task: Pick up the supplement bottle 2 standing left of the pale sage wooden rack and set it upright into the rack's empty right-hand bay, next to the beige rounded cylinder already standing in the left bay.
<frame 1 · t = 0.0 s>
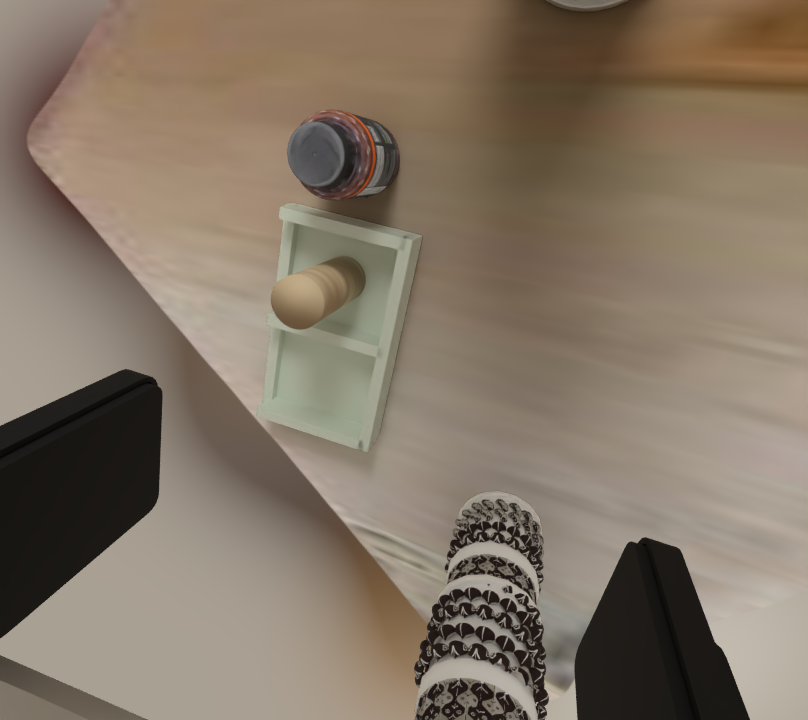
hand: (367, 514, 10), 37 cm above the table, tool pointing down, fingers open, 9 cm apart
decorative candle: (499, 526, 52), on the table
beige rounded cylinder: (344, 278, 47), point 1 cm above the table, touching rack
rack: (339, 325, 49), on the table
supplement bottle 2: (368, 159, 44), on the table
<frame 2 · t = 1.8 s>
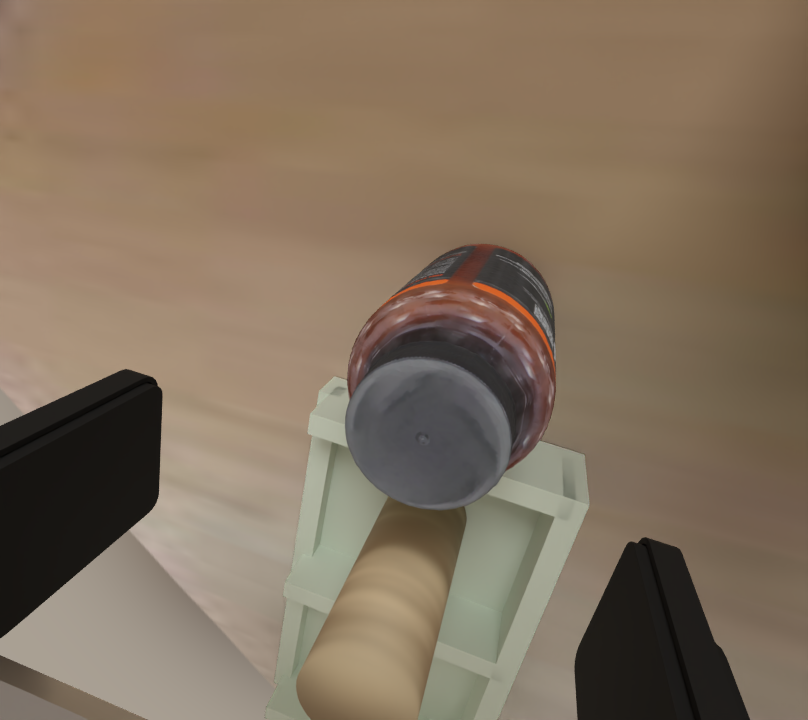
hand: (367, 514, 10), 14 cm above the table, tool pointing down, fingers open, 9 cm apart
beige rounded cylinder: (425, 513, 25), point 1 cm above the table, touching rack
rack: (410, 573, 28), on the table
supplement bottle 2: (482, 311, 22), on the table
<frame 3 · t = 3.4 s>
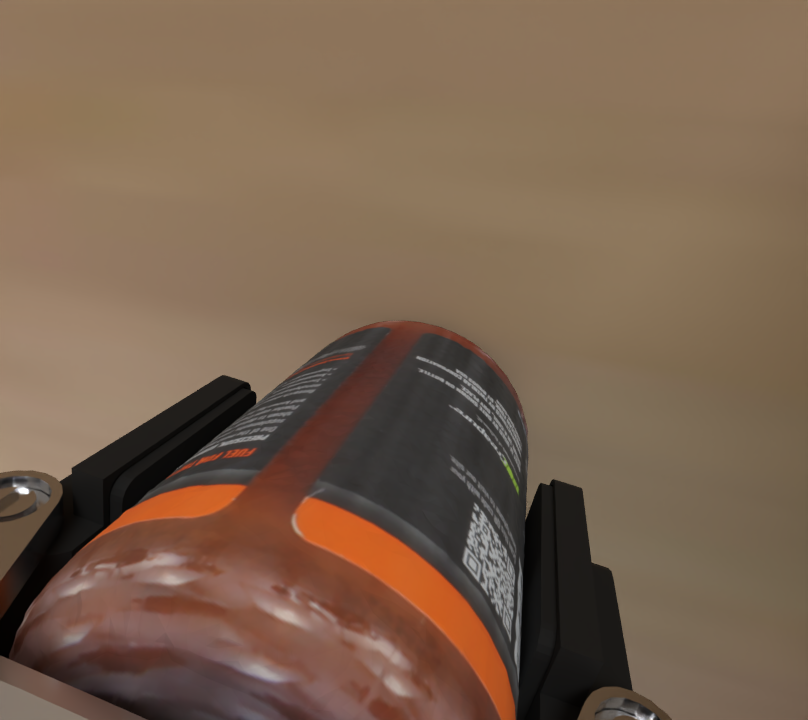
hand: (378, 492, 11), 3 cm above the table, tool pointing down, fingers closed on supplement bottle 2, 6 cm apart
supplement bottle 2: (414, 422, 14), on the table, touching gripper
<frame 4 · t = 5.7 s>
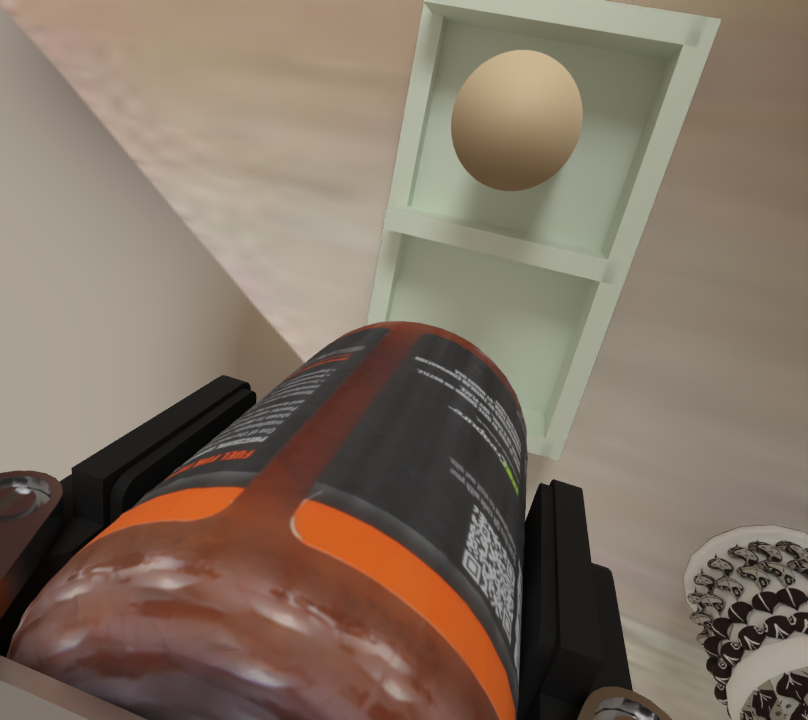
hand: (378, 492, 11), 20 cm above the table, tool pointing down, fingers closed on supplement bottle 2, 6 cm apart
decorative candle: (761, 582, 31), on the table
beige rounded cylinder: (526, 139, 25), point 1 cm above the table, touching rack
rack: (502, 235, 28), on the table
supplement bottle 2: (413, 422, 14), point 17 cm above the table, touching gripper
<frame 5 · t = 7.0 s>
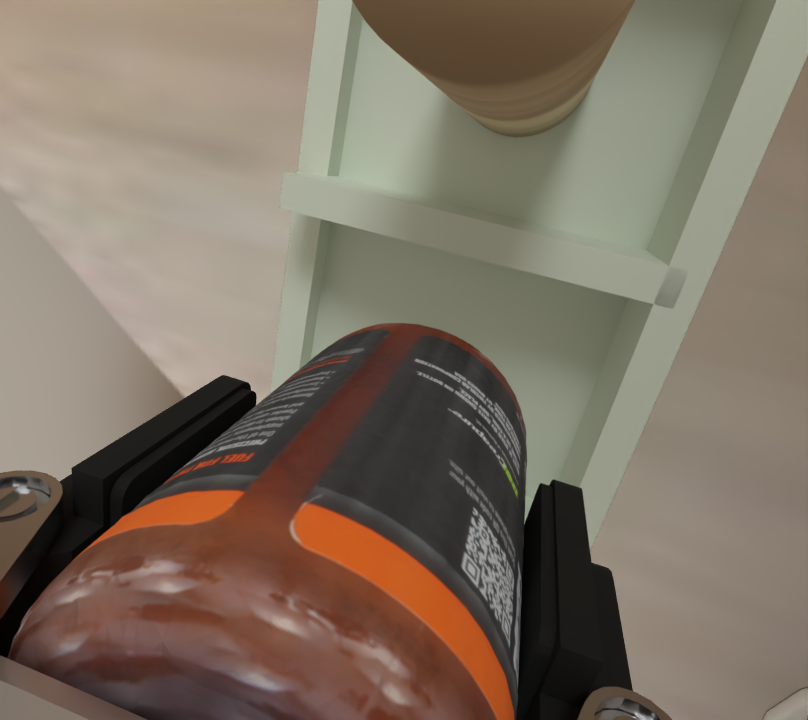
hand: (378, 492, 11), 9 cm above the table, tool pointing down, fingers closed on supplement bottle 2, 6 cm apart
beige rounded cylinder: (524, 61, 15), point 1 cm above the table, touching rack
rack: (483, 225, 17), on the table
supplement bottle 2: (413, 424, 14), point 6 cm above the table, touching gripper
when the fingers open (5 cm above the table, at t = 8.1 s): supplement bottle 2 drops 1 cm, resting on rack.
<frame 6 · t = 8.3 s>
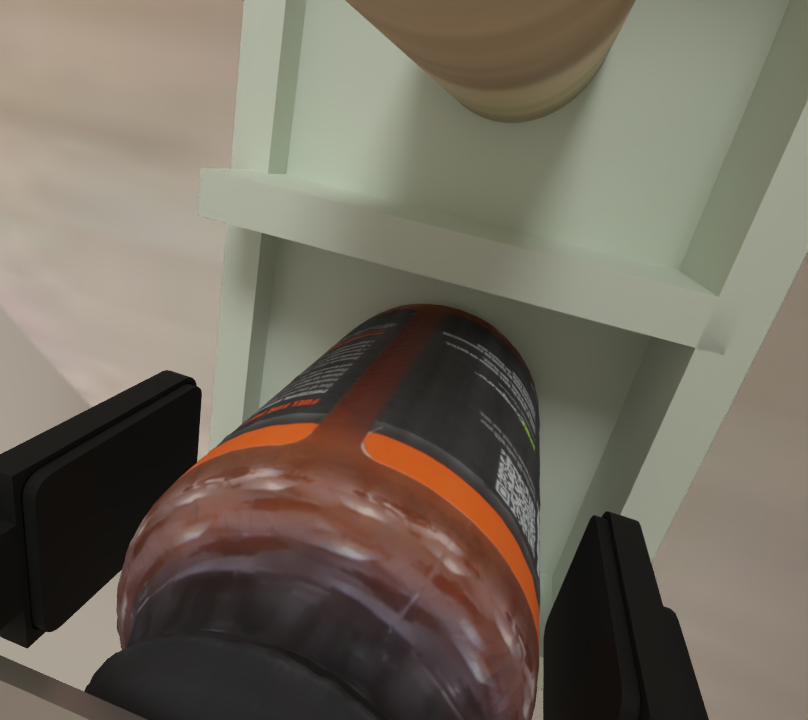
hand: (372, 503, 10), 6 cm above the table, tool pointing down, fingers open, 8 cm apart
beige rounded cylinder: (520, 22, 11), point 1 cm above the table, touching rack
rack: (469, 235, 14), on the table
supplement bottle 2: (434, 398, 15), point 1 cm above the table, touching rack
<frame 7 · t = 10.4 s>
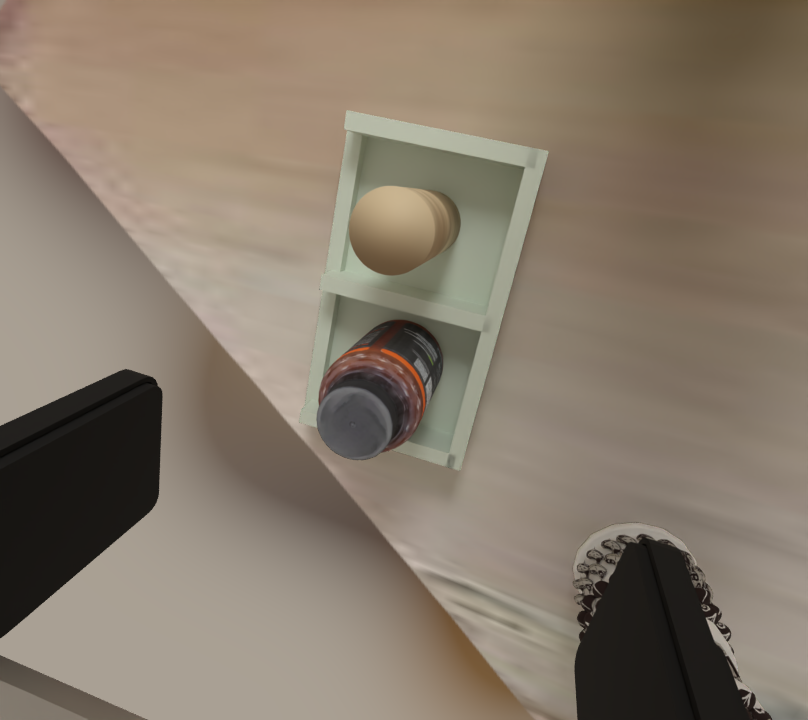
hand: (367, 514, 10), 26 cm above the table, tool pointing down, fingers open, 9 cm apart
decorative candle: (633, 571, 38), on the table
beige rounded cylinder: (429, 223, 33), point 1 cm above the table, touching rack
rack: (416, 293, 36), on the table
supplement bottle 2: (403, 358, 36), point 1 cm above the table, touching rack
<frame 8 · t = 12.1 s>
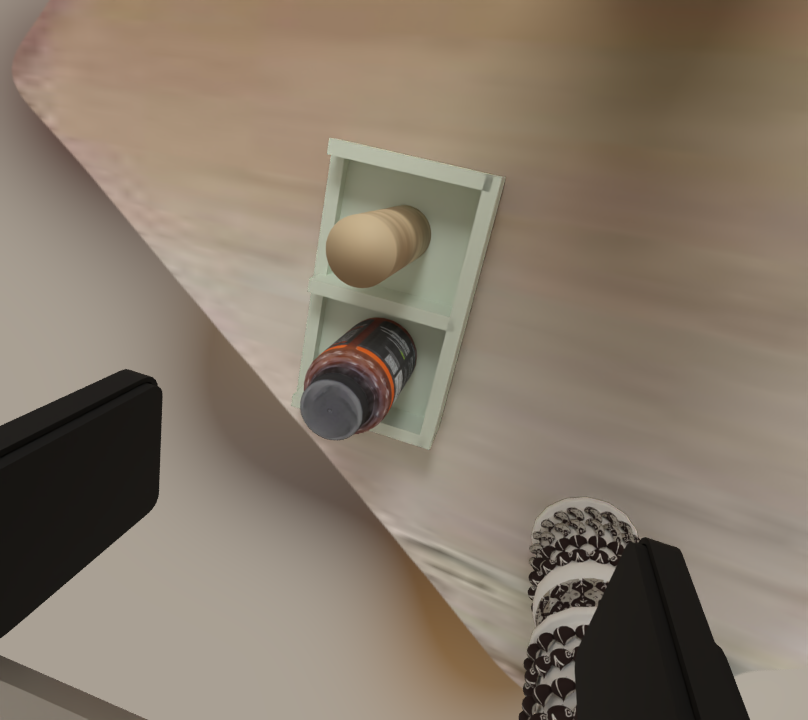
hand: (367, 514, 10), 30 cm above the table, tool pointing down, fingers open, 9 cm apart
decorative candle: (584, 539, 43), on the table
beige rounded cylinder: (404, 233, 38), point 1 cm above the table, touching rack
rack: (394, 294, 40), on the table
supplement bottle 2: (383, 351, 41), point 1 cm above the table, touching rack
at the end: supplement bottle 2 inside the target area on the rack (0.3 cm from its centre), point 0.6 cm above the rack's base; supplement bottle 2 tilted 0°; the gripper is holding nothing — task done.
